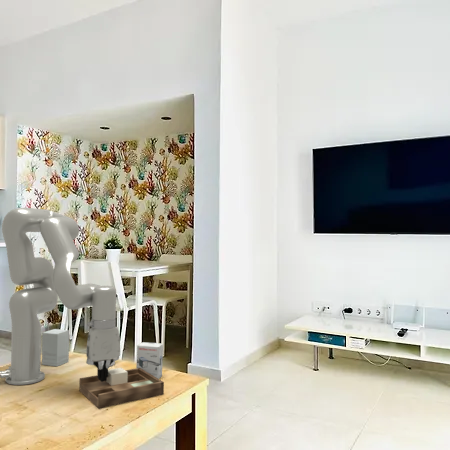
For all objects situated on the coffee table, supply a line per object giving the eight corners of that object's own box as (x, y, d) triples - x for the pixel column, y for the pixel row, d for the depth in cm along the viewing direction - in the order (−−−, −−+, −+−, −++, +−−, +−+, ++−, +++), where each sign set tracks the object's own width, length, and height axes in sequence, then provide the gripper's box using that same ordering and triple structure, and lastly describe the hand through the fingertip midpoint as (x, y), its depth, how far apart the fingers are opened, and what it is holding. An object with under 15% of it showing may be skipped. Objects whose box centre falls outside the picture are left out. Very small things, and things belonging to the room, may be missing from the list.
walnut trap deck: (99, 408, 133) (99, 395, 133) (79, 390, 148) (79, 378, 148) (163, 394, 146) (163, 382, 146) (139, 379, 160) (139, 367, 160)
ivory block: (111, 385, 146) (111, 374, 146) (105, 380, 150) (105, 370, 150) (127, 382, 149) (127, 371, 149) (120, 377, 153) (121, 367, 154)
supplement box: (69, 361, 179) (70, 330, 180) (56, 367, 172) (57, 333, 172) (54, 359, 182) (54, 328, 182) (41, 364, 175) (41, 332, 175)
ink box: (135, 378, 161) (136, 345, 161) (140, 374, 166) (140, 342, 166) (158, 380, 160) (159, 346, 160) (162, 375, 165) (163, 343, 165)
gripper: (84, 328, 140) (83, 388, 140) (129, 323, 149) (128, 379, 148) (77, 324, 146) (75, 381, 146) (120, 319, 155) (119, 373, 154)
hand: (102, 380), depth 147 cm, fingers closed
